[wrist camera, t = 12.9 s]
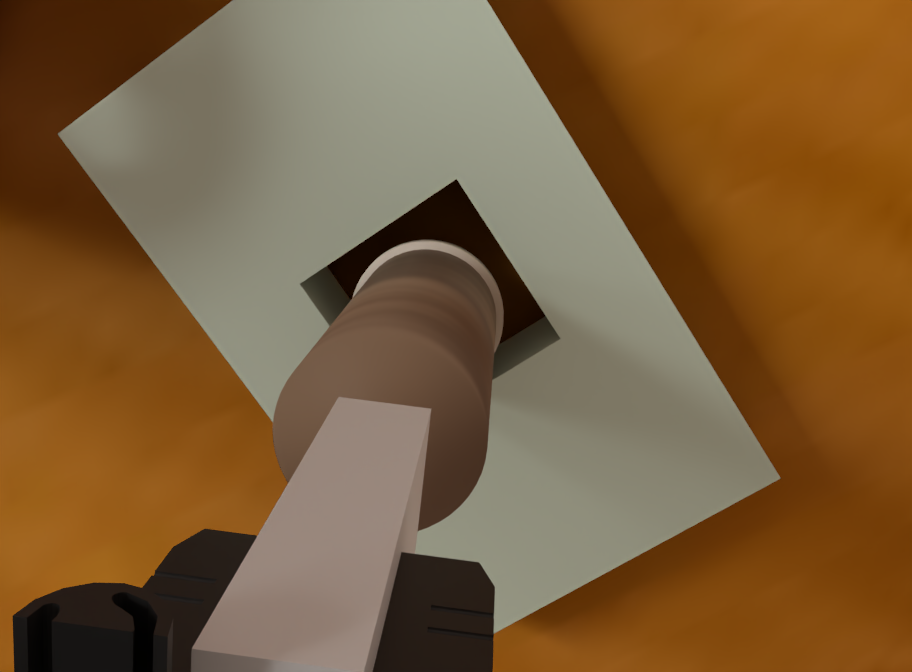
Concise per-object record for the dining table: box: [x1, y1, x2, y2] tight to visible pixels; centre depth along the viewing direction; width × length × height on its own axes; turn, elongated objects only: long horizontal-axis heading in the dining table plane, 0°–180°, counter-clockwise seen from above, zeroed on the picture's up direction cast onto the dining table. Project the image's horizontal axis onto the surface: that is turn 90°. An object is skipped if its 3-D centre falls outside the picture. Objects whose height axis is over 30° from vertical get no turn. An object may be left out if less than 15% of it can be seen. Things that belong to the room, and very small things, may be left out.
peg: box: [273, 239, 504, 531], centre depth 22 cm, size 4×4×13 cm
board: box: [58, 0, 781, 633], centre depth 27 cm, size 20×12×4 cm, turn 34°
